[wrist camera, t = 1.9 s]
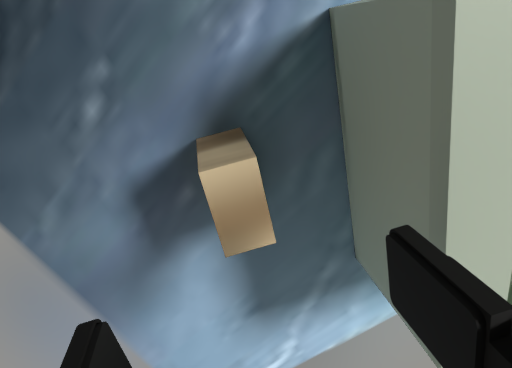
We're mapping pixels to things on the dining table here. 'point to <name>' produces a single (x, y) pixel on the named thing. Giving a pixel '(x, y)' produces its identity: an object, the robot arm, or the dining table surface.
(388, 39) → the box
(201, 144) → the block
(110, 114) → the dining table surface
